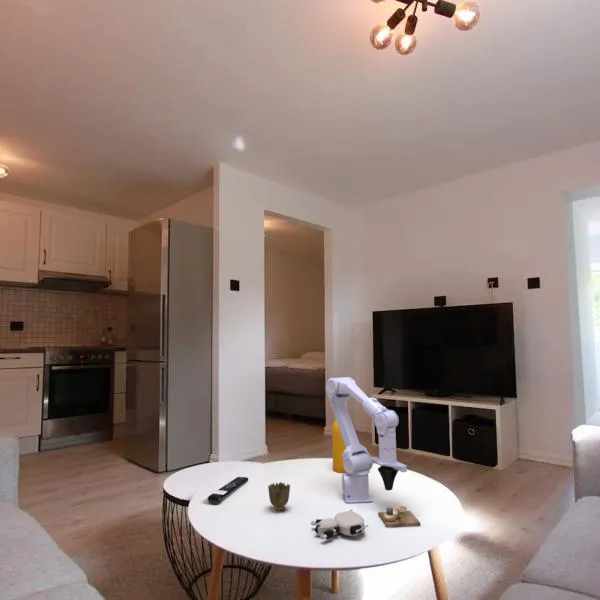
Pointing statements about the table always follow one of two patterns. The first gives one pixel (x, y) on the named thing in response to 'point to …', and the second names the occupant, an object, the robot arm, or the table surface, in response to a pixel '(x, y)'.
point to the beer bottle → (338, 448)
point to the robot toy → (340, 525)
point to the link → (394, 514)
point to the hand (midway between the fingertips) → (388, 489)
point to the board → (402, 521)
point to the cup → (279, 495)
